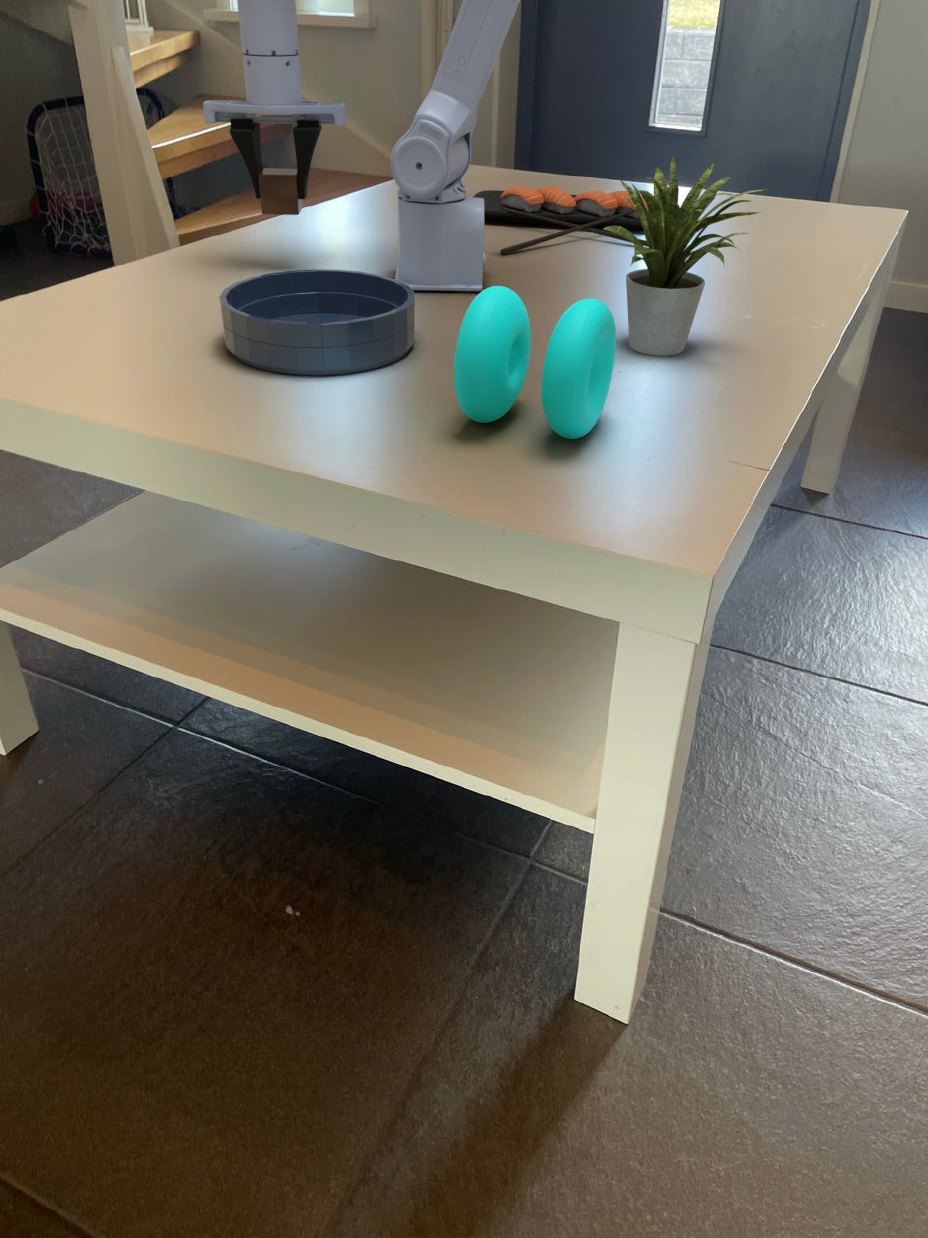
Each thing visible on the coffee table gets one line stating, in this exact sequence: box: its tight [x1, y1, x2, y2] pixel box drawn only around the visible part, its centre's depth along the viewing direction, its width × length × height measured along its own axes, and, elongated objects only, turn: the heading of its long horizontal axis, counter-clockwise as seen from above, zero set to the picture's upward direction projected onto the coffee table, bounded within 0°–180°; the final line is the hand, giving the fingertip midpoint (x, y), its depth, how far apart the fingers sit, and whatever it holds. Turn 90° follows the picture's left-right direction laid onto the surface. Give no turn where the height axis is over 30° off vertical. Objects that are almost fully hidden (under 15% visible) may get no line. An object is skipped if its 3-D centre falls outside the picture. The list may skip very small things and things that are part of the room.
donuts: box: [453, 285, 617, 440], centre depth 72 cm, size 10×10×10 cm
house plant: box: [602, 154, 771, 357], centre depth 86 cm, size 14×14×16 cm
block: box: [258, 167, 304, 216], centre depth 107 cm, size 4×4×4 cm
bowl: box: [218, 268, 416, 376], centre depth 89 cm, size 17×17×4 cm
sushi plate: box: [472, 186, 681, 256], centre depth 129 cm, size 29×30×4 cm
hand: (282, 196), depth 107 cm, fingers closed on block, 4 cm apart
